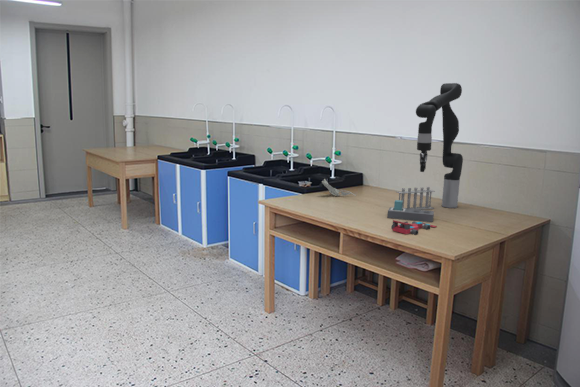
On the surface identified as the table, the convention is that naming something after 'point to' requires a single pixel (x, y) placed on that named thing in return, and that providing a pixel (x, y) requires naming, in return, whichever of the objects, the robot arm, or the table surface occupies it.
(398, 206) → the block
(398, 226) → the race car
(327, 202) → the table surface
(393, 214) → the power strip
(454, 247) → the table surface
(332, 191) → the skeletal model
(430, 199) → the test tube rack
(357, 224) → the table surface
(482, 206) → the table surface
